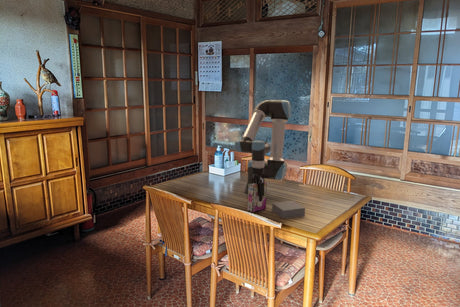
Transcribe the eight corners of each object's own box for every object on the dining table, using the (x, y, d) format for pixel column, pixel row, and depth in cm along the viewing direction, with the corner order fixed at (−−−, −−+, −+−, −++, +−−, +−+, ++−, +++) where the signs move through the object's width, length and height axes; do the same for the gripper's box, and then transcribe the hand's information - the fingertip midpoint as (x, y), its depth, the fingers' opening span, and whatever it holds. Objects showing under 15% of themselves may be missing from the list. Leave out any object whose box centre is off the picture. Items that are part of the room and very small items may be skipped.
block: (272, 210, 211) (272, 202, 210) (292, 208, 215) (293, 200, 214) (282, 219, 198) (283, 210, 197) (304, 216, 202) (305, 208, 201)
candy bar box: (252, 212, 206) (253, 186, 203) (247, 210, 210) (247, 184, 207) (266, 209, 213) (267, 182, 210) (260, 206, 217) (261, 181, 214)
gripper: (245, 164, 214) (245, 200, 218) (259, 171, 196) (258, 210, 201) (256, 163, 216) (255, 199, 221) (271, 170, 199) (270, 208, 203)
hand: (257, 204), depth 211 cm, fingers closed on candy bar box, 6 cm apart
